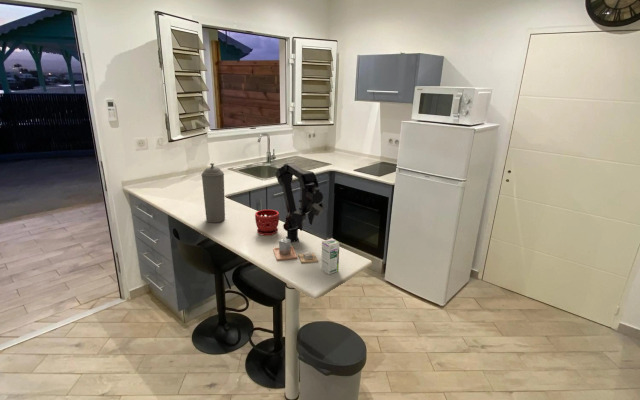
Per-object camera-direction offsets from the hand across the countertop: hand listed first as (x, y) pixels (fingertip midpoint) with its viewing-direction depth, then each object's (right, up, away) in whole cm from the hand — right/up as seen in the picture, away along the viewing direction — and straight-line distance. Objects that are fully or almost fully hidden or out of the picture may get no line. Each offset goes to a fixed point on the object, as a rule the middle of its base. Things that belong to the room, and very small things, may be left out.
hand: (306, 227), depth 174 cm
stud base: (+1, -15, -5) cm, 15 cm away
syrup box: (+11, -19, -15) cm, 26 cm away
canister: (-56, +1, +39) cm, 69 cm away
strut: (-10, -13, -1) cm, 16 cm away
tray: (-10, -13, -1) cm, 17 cm away
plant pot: (-23, -5, +23) cm, 33 cm away
